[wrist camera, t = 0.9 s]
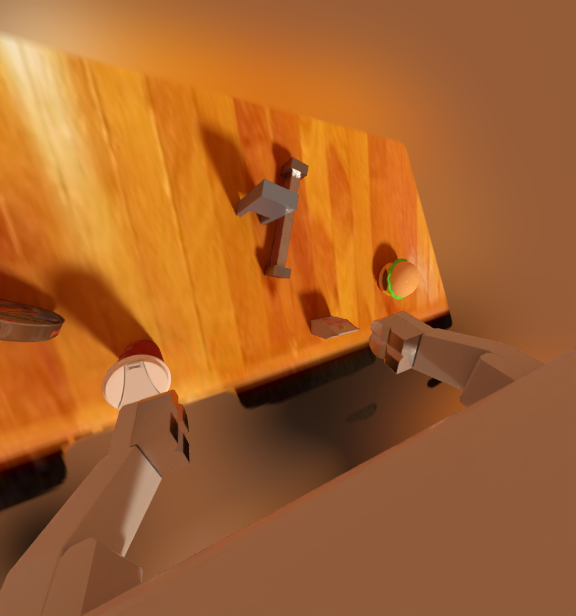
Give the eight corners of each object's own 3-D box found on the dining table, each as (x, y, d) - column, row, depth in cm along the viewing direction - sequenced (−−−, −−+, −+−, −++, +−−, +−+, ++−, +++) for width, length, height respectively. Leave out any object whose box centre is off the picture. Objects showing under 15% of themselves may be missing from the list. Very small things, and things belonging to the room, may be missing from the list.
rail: (279, 278, 54) (289, 278, 50) (264, 274, 52) (273, 274, 48) (297, 174, 53) (308, 165, 49) (282, 166, 51) (292, 157, 47)
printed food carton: (331, 329, 64) (359, 337, 55) (311, 333, 60) (337, 343, 52) (331, 316, 63) (359, 322, 54) (310, 319, 60) (337, 327, 51)
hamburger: (374, 260, 69) (401, 258, 61) (400, 258, 75) (427, 256, 67) (374, 300, 71) (400, 303, 63) (399, 295, 77) (425, 297, 69)
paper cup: (112, 339, 39) (93, 366, 27) (163, 330, 43) (166, 351, 31) (121, 381, 41) (107, 426, 29) (169, 370, 44) (175, 404, 32)
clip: (236, 215, 47) (261, 195, 36) (238, 202, 47) (264, 178, 36) (264, 224, 50) (296, 209, 39) (266, 212, 50) (298, 194, 39)
